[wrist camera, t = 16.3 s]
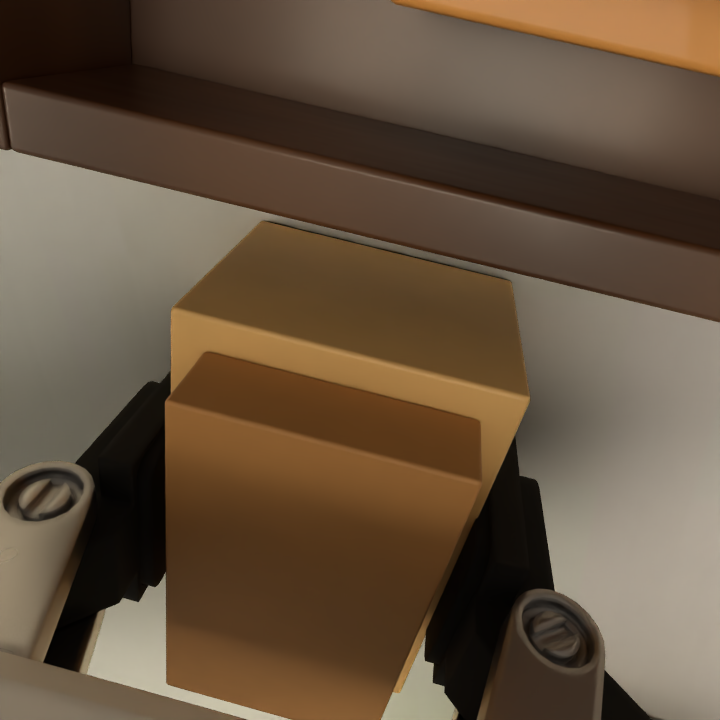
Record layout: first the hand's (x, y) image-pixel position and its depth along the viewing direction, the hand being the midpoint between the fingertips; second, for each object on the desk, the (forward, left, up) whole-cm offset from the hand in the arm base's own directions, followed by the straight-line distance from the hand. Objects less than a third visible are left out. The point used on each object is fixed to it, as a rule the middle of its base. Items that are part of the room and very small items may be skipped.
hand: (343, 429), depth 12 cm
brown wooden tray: (+2, +16, -1) cm, 16 cm away
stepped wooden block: (0, 0, -1) cm, 1 cm away
